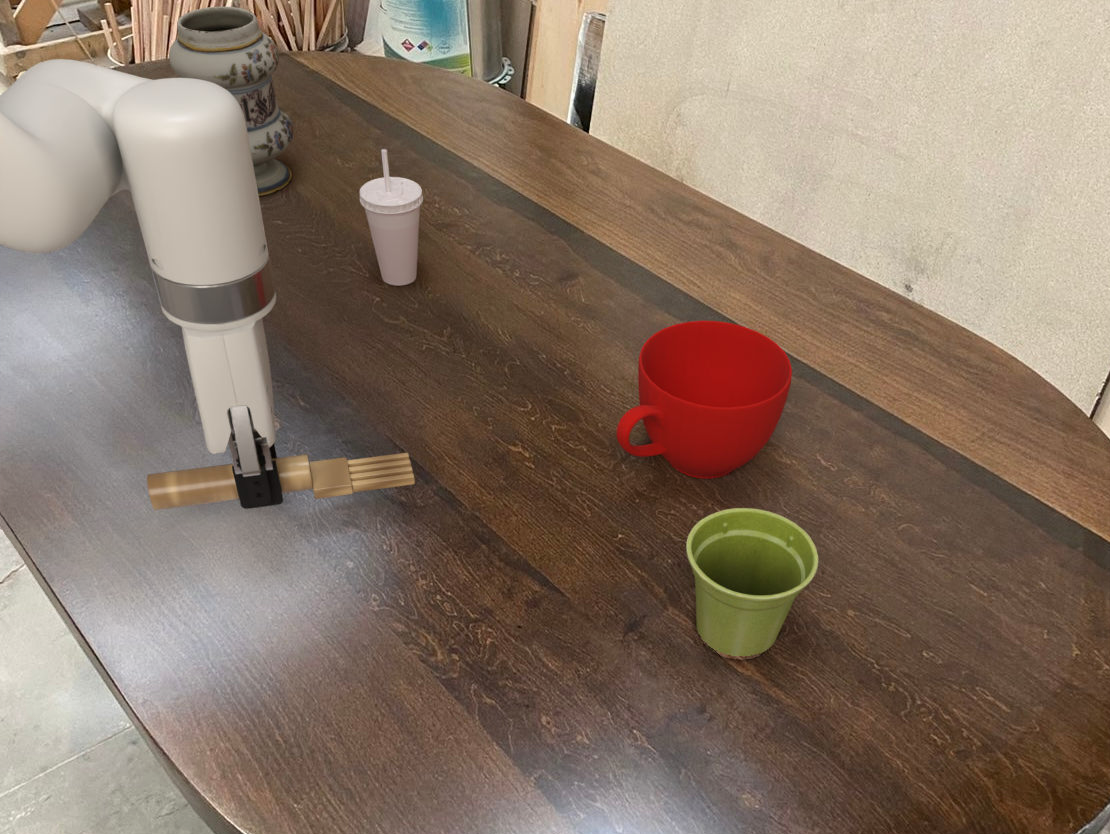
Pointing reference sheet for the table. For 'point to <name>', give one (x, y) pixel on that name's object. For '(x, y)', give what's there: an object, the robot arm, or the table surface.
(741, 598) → the plant pot
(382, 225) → the smoothie
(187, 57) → the apothecary jar
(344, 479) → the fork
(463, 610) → the table surface
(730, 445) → the ceramic cup
